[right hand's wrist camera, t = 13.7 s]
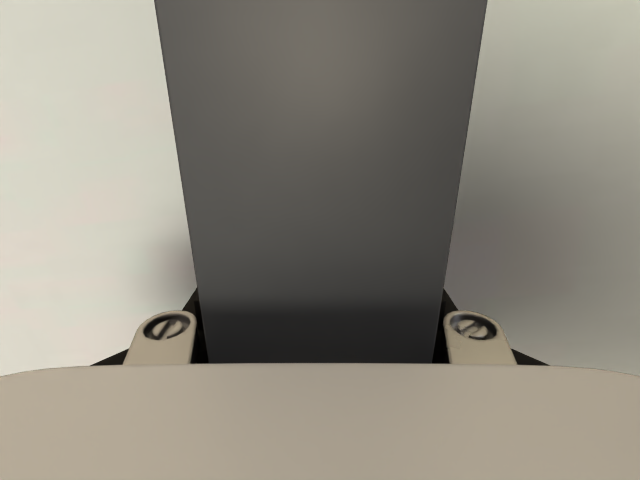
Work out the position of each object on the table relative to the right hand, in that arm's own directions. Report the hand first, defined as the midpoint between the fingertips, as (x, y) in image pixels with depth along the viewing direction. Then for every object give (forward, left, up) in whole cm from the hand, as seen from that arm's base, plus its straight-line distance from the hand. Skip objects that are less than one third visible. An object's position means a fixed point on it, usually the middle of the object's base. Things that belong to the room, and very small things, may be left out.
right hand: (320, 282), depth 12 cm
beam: (+25, -11, -2) cm, 27 cm away
